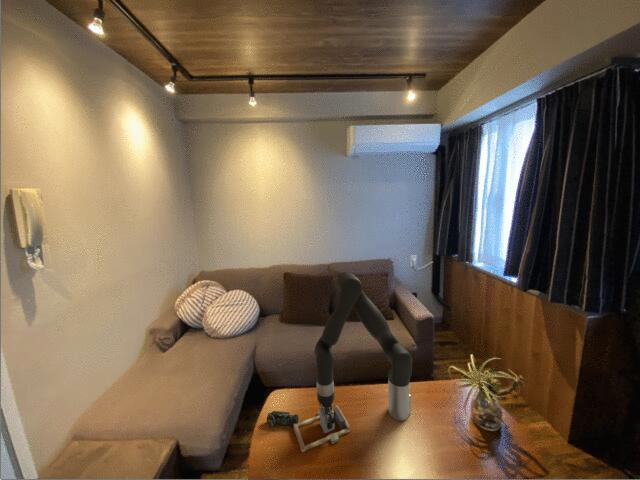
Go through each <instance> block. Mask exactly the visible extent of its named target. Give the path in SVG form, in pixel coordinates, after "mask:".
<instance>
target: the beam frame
mask: <svg viewBox="0 0 640 480" xmlns="http://www.w3.org/2000/svg"><path fill="white" fill-rule="evenodd" d="M332 410H333V412H335V422H336V423H337V425H338V426H339V429H340V430H339V431H337V432H333V433H331V434H329V435H327V436H325V437H323V438H320V439H317V440H315V441H313V442H310V443H309V444H306V445H305V443H304V441H303V437H302V434H301V432H300V429H299V428H302V427H304V426H306V425H309V424H311V423H314V422H316V421H318V420H319V421H320V413H319V410H317V415H316V416H313V417H310V418H308V419H306V420H304V421H300V422H298V424H294V426H293V425H292V428H293V430H294V433H295V435H296V439H297V441H298V445H299V447H300V451H301V453H304V452H306V451H309V450H311V449H313V448H315V447H317V446H320V445H323V444H325V443H327V442H329V441H330V442H331V445H333V444H336V443H338V442H340V440H339V439H340V438H339V437H341V436H343V435H345V434H347V433H350V432H351V425H350V424H349V422H348V421H347V418H345V415H344V413H343V412H342V410H341V408H340V407H339V405H335V407H332Z"/></svg>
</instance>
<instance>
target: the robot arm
mask: <svg viewBox="0 0 640 480" xmlns="http://www.w3.org/2000/svg"><path fill="white" fill-rule="evenodd" d="M335 283H336V287H337V290H338V291H339V293H340V294H339V298H338V301H337V302H338V303H337V305H336V307H335V309H334V311H333V312H332V313H331V314H330V316H329V317H328V319H327V321H326V323H325V325H324V328H323V331H322V334H321V336H320V337H319V339H318V341H317V342H316V344H315V347H314V356H315V361H316V375H315V376H316V397H317V398H316V399H317V401H318V405H319V408H321V409H323V410H324V414H325V417H326V418H327V428H328V430H329V429H331V428H332V424H333V423H336V419H335V412H334V413H333V411H332V410H333V403H334V401H335V383H334V373H333V371H334V356H333V352H332V348H333V346H335V345H337V343H338V342H339V340H340V336H341V334H342V331H343V330H344V329H343V328H344V326H345V325H346V324H345V323H346V322H347V319H348V317H349V315H350V314H351V312H352V310H353V309H354V311H355V313H356V315H357V317H358V319H359V320H360V322H361V323H362V325H363V327H364V328H365V330H366V331H367V332H368V333H369V334H370V336H371V337H373V339H374V340H375V341H376V342H378V344H379V345H380V347H381V349H382V351H383V353H384V355H385V357H386V359H387V360H388V361H389V363H390V364H391V366H392V367H391V369H389V371H388V374H387V379H388V381H387V382H388V383H387V385H388V386H387V387H388V390H387V392H388V394H387V395H388V396H387V403H388V407H387V410H388V415H389V417H391V418H392V419H394V420H396V421H401V422H403V421H406V420H407V419H409V417H410V415H411V414H412V396H411V394H410V380H411V378H412V374H413V373H412V371H413V356H412V354H411V353H410V352H409V351H408V350H407V349H406V348H405V347H404V345H402V343H400V341H399V340H398V339H397V338H396V337H395V335H394V334H393V333H392V332H391V328H390V326H389V323H388V321H387V319H386V318H385V316H384V315H383V313H382V312H381V311H380V310H379V308H378V307H377V306H376V305H375V304H374V302H372V300H371V299H370V298H369V297H368V296H367V295H366V293H365V292H364V290H363V283H362V282H361V280H360V279H359V277H357V276H356V275H355V274H353V273H351V272H347V271H345V272H342V273H340V274H339V275H338V276H337V278H336V282H335ZM326 413H328V414H326ZM328 417H329V419H328Z"/></svg>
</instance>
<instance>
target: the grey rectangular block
mask: <svg viewBox="0 0 640 480" xmlns="http://www.w3.org/2000/svg"><path fill="white" fill-rule="evenodd" d="M318 411H319V413H320V419H319V425H320V427H321V429H322V432H323V434H327V433H330V432H332V431H334V430H336V424H335V423H336V422H335V423H333V424H332V428H331V429H329V430H328V428H327V418H326V417H325V414H324V410H323V409H321V407H319V409H318ZM332 411H333V409H332ZM333 413H334V412H333ZM326 414H328V413H326ZM328 419H329V417H328Z"/></svg>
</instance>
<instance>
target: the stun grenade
mask: <svg viewBox="0 0 640 480" xmlns="http://www.w3.org/2000/svg"><path fill="white" fill-rule="evenodd" d="M298 423H299V414H290V411H279V410H273V411H271V412H268V414H267V416H266V424H267V425H268V427H269V429H270V430H271V431H273V427H274V426H277V425H281V426H292V427H293V426H294V424H298Z"/></svg>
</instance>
